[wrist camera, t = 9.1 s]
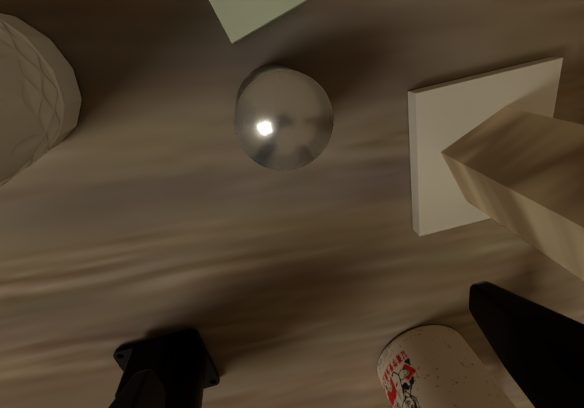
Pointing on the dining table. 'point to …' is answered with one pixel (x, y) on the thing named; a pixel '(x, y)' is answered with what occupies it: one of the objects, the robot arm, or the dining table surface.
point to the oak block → (527, 180)
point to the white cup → (32, 96)
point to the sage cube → (250, 15)
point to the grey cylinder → (282, 117)
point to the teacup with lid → (437, 372)
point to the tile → (459, 121)
